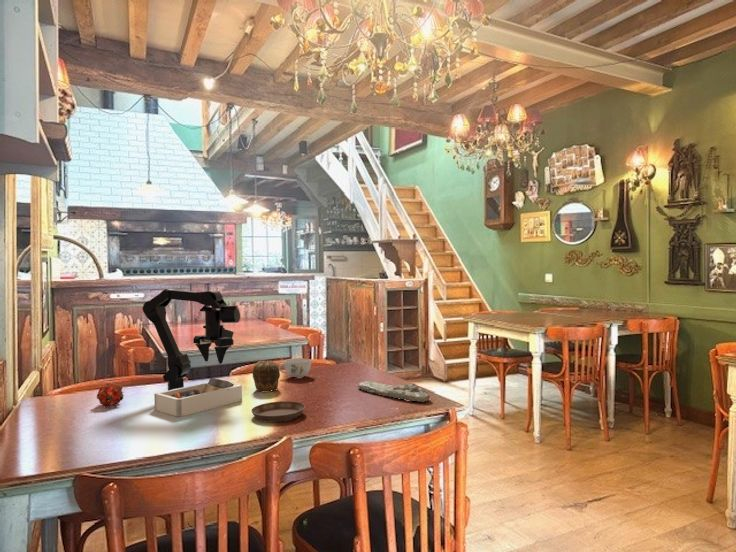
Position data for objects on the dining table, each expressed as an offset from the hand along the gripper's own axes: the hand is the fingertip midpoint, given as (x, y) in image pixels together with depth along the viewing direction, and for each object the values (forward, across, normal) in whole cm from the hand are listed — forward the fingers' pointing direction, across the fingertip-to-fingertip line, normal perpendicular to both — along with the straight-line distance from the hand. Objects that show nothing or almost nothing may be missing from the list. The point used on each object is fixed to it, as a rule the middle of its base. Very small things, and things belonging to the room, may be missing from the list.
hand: (213, 362), depth 196 cm
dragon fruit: (+13, +19, +31) cm, 39 cm away
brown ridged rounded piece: (+13, -10, -18) cm, 24 cm away
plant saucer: (+14, -42, +4) cm, 44 cm away
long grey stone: (+14, -57, -41) cm, 71 cm away
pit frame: (+13, -8, +12) cm, 19 cm away
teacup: (+13, -2, -42) cm, 44 cm away
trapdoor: (+11, -8, +3) cm, 14 cm away
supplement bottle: (+10, -8, +12) cm, 17 cm away
